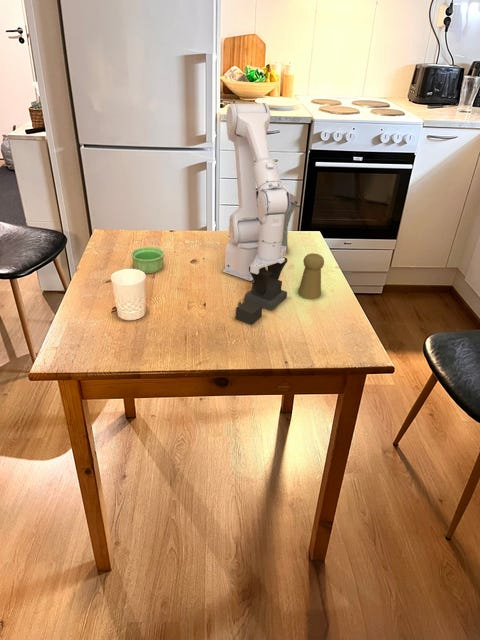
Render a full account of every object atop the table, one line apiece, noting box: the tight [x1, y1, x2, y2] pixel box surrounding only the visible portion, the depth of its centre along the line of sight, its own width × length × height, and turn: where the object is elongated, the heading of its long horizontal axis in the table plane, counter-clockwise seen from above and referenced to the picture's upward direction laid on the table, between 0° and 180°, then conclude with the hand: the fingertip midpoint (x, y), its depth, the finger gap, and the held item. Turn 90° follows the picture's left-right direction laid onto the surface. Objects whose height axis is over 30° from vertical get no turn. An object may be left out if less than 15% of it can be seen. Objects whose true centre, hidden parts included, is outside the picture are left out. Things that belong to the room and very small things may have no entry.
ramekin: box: [131, 246, 165, 274], centre depth 140 cm, size 9×9×4 cm
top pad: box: [235, 299, 263, 326], centre depth 120 cm, size 5×5×3 cm
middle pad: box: [251, 277, 283, 301], centre depth 126 cm, size 6×6×3 cm
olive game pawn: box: [298, 252, 325, 300], centre depth 129 cm, size 6×6×11 cm
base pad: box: [243, 289, 288, 312], centre depth 128 cm, size 8×8×2 cm
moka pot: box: [256, 189, 300, 252], centre depth 149 cm, size 10×15×20 cm, turn 58°
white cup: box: [110, 268, 147, 321], centre depth 117 cm, size 8×8×10 cm
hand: (266, 288), depth 126 cm, fingers closed on middle pad, 5 cm apart
